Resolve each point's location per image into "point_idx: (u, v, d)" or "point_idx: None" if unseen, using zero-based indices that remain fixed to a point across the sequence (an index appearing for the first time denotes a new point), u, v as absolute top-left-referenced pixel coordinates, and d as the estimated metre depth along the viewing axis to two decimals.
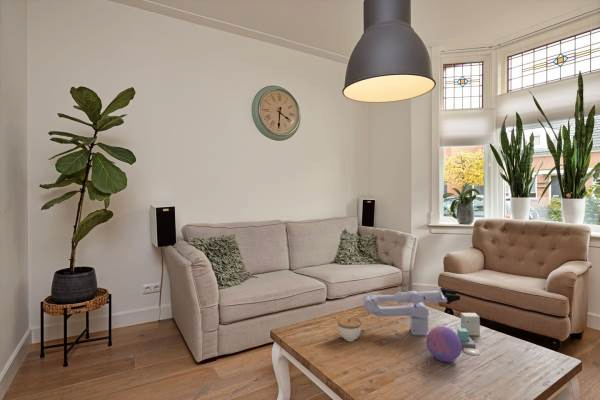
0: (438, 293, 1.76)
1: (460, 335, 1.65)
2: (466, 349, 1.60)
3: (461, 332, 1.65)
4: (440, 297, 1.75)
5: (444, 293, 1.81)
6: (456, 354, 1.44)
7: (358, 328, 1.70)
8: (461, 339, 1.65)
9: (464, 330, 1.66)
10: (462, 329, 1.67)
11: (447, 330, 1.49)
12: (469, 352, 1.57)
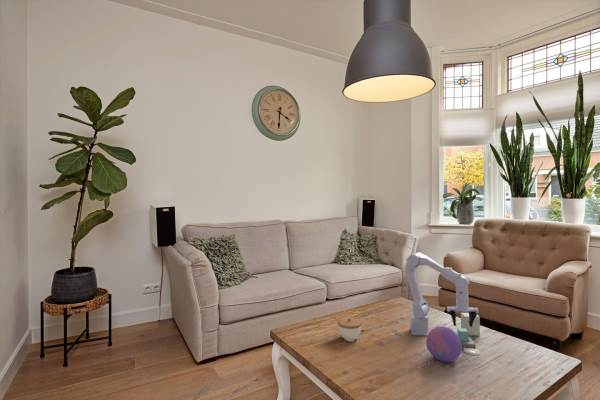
0: (459, 307, 1.65)
1: (460, 335, 1.65)
2: (466, 349, 1.60)
3: (461, 332, 1.65)
4: (456, 307, 1.67)
5: (470, 314, 1.66)
6: (456, 354, 1.44)
7: (358, 328, 1.70)
8: (461, 339, 1.65)
9: (464, 330, 1.66)
10: (462, 329, 1.67)
11: (447, 330, 1.49)
12: (469, 352, 1.57)
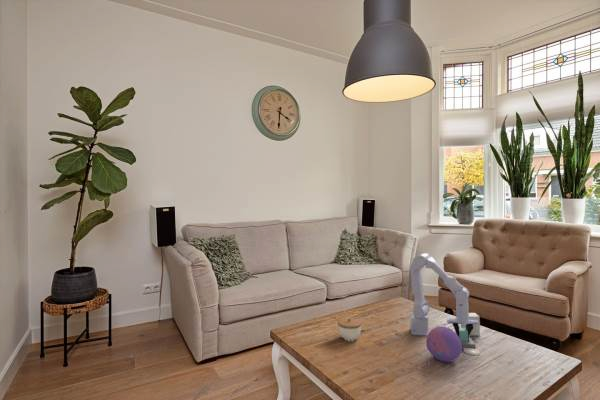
0: (459, 319, 1.65)
1: (460, 335, 1.65)
2: (466, 349, 1.60)
3: (461, 332, 1.65)
4: (456, 319, 1.67)
5: (467, 326, 1.66)
6: (456, 354, 1.44)
7: (358, 328, 1.70)
8: (461, 339, 1.65)
9: (464, 330, 1.66)
10: (462, 329, 1.67)
11: (447, 330, 1.49)
12: (469, 352, 1.57)
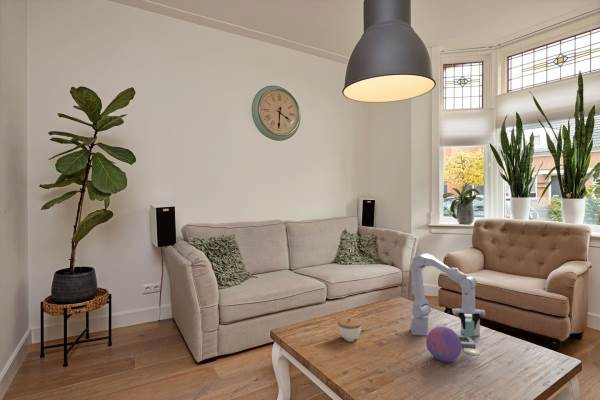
0: (465, 309, 1.59)
1: (466, 326, 1.59)
2: (466, 349, 1.60)
3: (467, 322, 1.59)
4: (462, 309, 1.61)
5: (473, 316, 1.60)
6: (456, 354, 1.44)
7: (358, 328, 1.70)
8: (467, 330, 1.59)
9: (470, 320, 1.60)
10: (468, 319, 1.61)
11: (447, 330, 1.49)
12: (469, 352, 1.57)
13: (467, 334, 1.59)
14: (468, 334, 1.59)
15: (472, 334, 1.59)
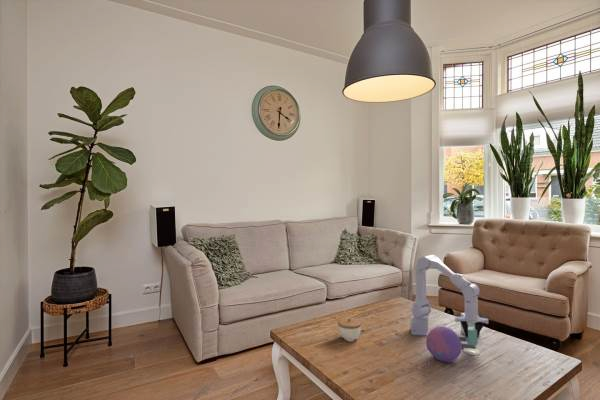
0: (468, 317, 1.56)
1: (469, 334, 1.56)
2: (466, 349, 1.60)
3: (470, 331, 1.56)
4: (464, 317, 1.58)
5: (476, 325, 1.57)
6: (456, 354, 1.44)
7: (358, 328, 1.70)
8: (470, 338, 1.56)
9: (473, 329, 1.57)
10: (471, 328, 1.58)
11: (447, 330, 1.49)
12: (469, 352, 1.57)
13: (470, 343, 1.56)
14: (471, 343, 1.56)
15: (475, 343, 1.56)
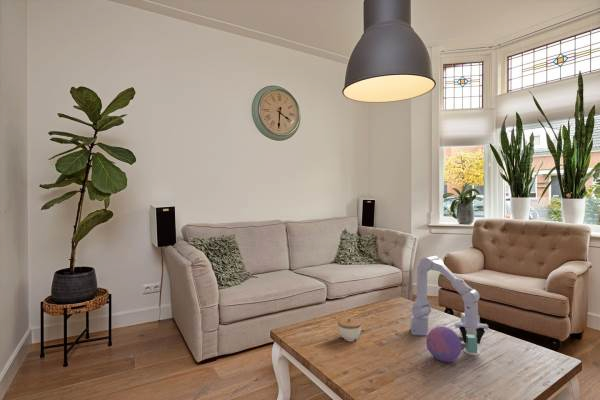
0: (468, 323, 1.56)
1: (469, 342, 1.57)
2: None
3: (470, 339, 1.56)
4: (465, 323, 1.58)
5: (477, 331, 1.57)
6: (456, 354, 1.44)
7: (358, 328, 1.70)
8: (470, 346, 1.56)
9: (473, 337, 1.57)
10: (471, 335, 1.59)
11: (447, 330, 1.49)
12: (469, 352, 1.57)
13: (470, 351, 1.56)
14: (471, 351, 1.56)
15: (475, 351, 1.56)
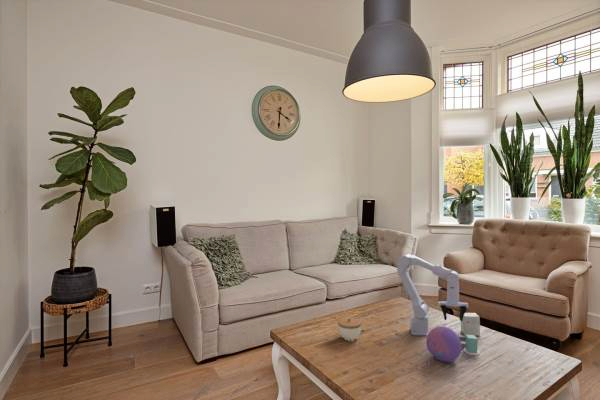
0: (450, 301, 1.70)
1: (469, 342, 1.56)
2: None
3: (470, 339, 1.56)
4: (447, 301, 1.72)
5: (460, 309, 1.71)
6: (456, 354, 1.44)
7: (358, 328, 1.70)
8: (470, 346, 1.56)
9: (473, 337, 1.57)
10: (471, 336, 1.58)
11: (447, 330, 1.49)
12: None
13: (470, 351, 1.56)
14: (471, 351, 1.56)
15: (475, 351, 1.56)
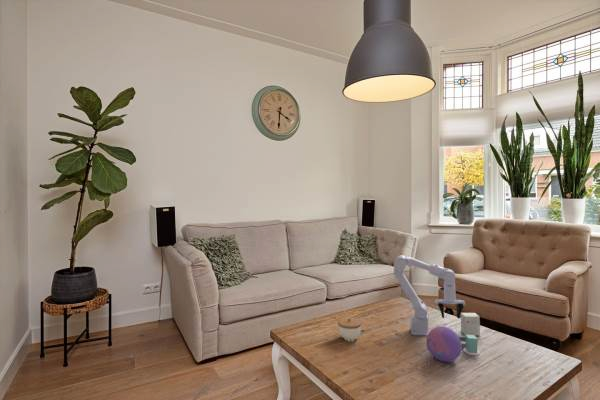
0: (447, 299, 1.73)
1: (469, 342, 1.56)
2: None
3: (470, 339, 1.56)
4: (444, 299, 1.75)
5: (457, 306, 1.74)
6: (456, 354, 1.44)
7: (358, 328, 1.70)
8: (470, 346, 1.56)
9: (473, 337, 1.57)
10: (471, 336, 1.58)
11: (447, 330, 1.49)
12: None
13: (470, 351, 1.56)
14: (471, 351, 1.56)
15: (475, 351, 1.56)
